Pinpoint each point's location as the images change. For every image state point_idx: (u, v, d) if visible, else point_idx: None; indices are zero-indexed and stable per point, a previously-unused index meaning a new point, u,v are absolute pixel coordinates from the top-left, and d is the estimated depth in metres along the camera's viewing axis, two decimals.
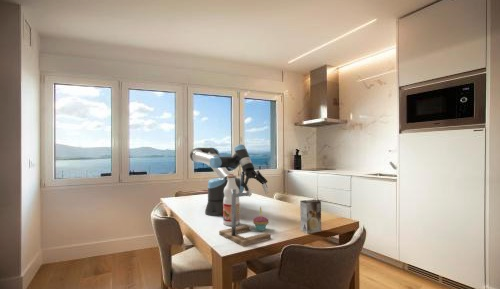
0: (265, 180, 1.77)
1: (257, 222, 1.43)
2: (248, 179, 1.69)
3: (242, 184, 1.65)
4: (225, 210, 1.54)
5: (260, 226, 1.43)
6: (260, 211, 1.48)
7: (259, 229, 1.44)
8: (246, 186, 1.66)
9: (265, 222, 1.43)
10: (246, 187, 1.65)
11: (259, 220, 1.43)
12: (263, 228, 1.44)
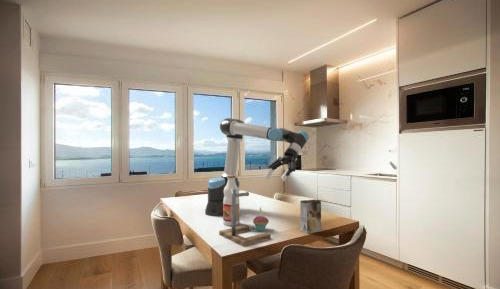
0: None
1: (257, 222, 1.43)
2: None
3: (294, 170, 1.49)
4: (225, 210, 1.54)
5: (260, 226, 1.43)
6: (260, 211, 1.48)
7: (259, 229, 1.44)
8: (289, 172, 1.50)
9: (265, 222, 1.43)
10: (289, 173, 1.49)
11: (259, 220, 1.43)
12: (263, 228, 1.44)
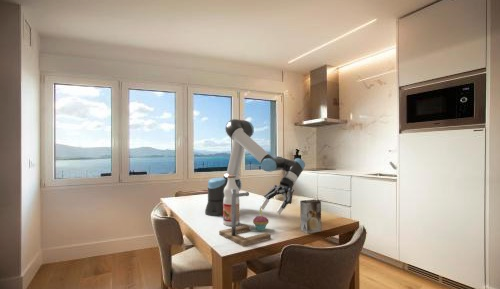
0: None
1: (257, 222, 1.43)
2: None
3: (290, 203, 1.45)
4: (225, 210, 1.54)
5: (260, 226, 1.43)
6: (260, 211, 1.48)
7: (259, 229, 1.44)
8: (285, 205, 1.46)
9: (265, 222, 1.43)
10: None
11: (259, 220, 1.43)
12: (263, 228, 1.44)
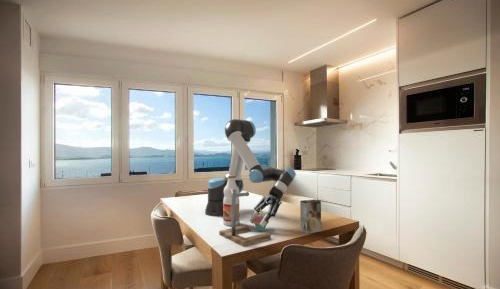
0: None
1: (257, 222, 1.43)
2: (271, 209, 1.47)
3: (273, 216, 1.42)
4: (225, 210, 1.54)
5: (260, 226, 1.43)
6: (260, 211, 1.48)
7: (259, 229, 1.44)
8: None
9: None
10: (268, 218, 1.43)
11: (259, 220, 1.43)
12: (263, 228, 1.44)
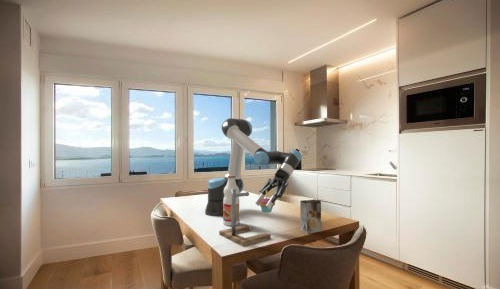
0: None
1: (263, 204, 1.40)
2: None
3: (280, 197, 1.39)
4: (225, 210, 1.54)
5: (266, 208, 1.40)
6: (266, 193, 1.44)
7: (265, 211, 1.41)
8: (275, 199, 1.40)
9: None
10: None
11: (265, 202, 1.40)
12: (269, 210, 1.41)
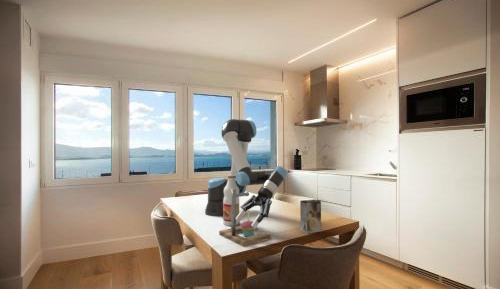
0: None
1: (244, 228, 1.33)
2: None
3: (266, 216, 1.31)
4: (225, 210, 1.54)
5: (247, 232, 1.33)
6: (248, 216, 1.37)
7: (246, 235, 1.34)
8: (261, 218, 1.32)
9: (253, 228, 1.33)
10: None
11: (246, 225, 1.33)
12: (251, 234, 1.34)
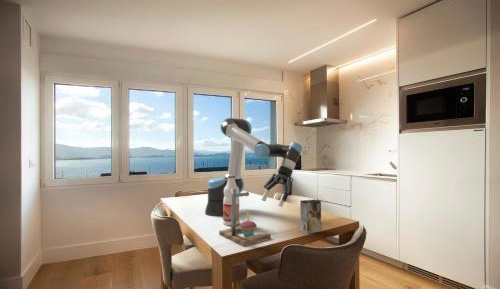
0: None
1: (244, 228, 1.33)
2: None
3: (290, 195, 1.40)
4: (225, 210, 1.54)
5: (247, 232, 1.33)
6: (248, 216, 1.38)
7: (246, 235, 1.34)
8: None
9: (252, 228, 1.33)
10: None
11: (246, 225, 1.33)
12: (250, 234, 1.34)
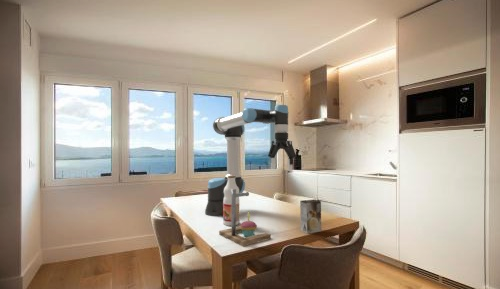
0: None
1: (244, 227, 1.33)
2: None
3: (295, 157, 1.46)
4: (225, 210, 1.54)
5: (247, 232, 1.33)
6: (248, 216, 1.38)
7: (246, 235, 1.34)
8: None
9: (252, 227, 1.33)
10: (292, 161, 1.48)
11: (246, 225, 1.33)
12: (250, 234, 1.34)
